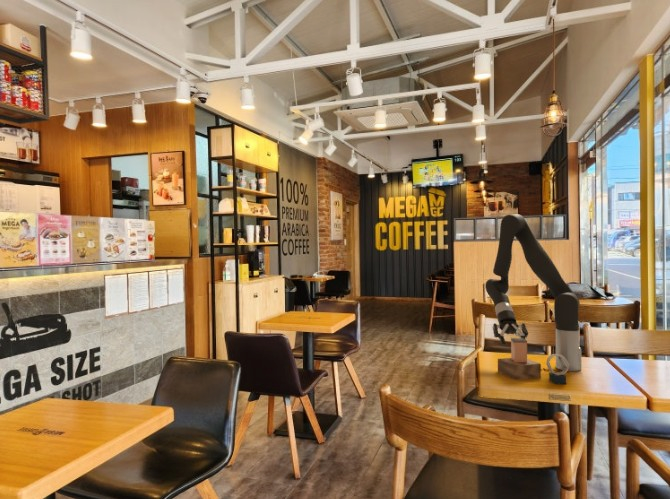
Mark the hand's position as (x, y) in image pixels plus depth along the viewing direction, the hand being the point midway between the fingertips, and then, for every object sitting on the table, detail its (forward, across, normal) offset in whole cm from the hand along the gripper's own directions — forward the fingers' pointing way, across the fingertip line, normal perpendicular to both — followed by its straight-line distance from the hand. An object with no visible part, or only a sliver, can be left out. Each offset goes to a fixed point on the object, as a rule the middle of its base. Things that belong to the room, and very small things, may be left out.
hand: (514, 344), depth 197 cm
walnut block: (+13, 0, +4) cm, 13 cm away
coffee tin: (+8, 0, 0) cm, 8 cm away
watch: (+20, +11, -4) cm, 23 cm away
